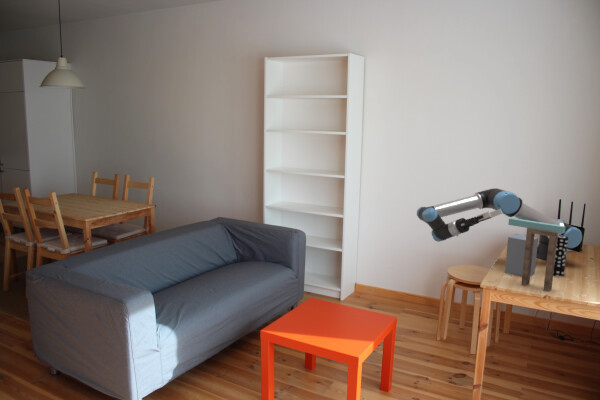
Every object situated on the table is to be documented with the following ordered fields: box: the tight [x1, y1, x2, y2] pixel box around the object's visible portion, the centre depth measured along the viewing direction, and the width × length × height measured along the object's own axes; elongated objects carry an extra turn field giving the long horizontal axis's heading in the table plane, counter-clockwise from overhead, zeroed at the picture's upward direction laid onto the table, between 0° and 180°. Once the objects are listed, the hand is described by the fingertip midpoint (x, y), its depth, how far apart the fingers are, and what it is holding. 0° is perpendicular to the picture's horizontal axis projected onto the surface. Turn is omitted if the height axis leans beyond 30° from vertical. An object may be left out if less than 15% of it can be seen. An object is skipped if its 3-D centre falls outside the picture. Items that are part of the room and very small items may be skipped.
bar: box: [507, 217, 566, 234], centre depth 220 cm, size 4×24×3 cm, turn 45°
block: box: [504, 233, 539, 277], centre depth 243 cm, size 11×11×19 cm
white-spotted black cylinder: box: [553, 235, 568, 277], centre depth 242 cm, size 8×8×20 cm
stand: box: [520, 228, 558, 292], centre depth 220 cm, size 5×12×28 cm, turn 45°
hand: (495, 212), depth 233 cm, fingers open, 13 cm apart
